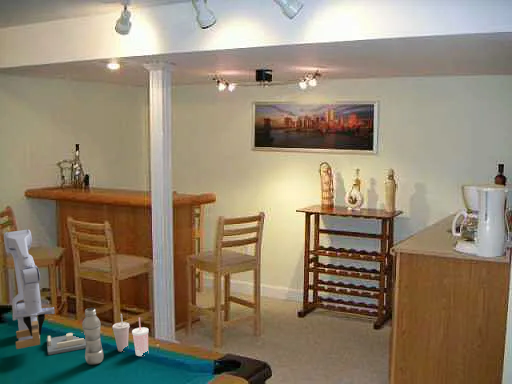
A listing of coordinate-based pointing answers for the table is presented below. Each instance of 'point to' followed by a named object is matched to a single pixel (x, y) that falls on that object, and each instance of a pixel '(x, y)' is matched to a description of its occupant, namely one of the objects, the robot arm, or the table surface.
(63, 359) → the table surface
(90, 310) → the plastic bottle
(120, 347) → the smoothie
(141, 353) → the beverage cup
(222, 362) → the table surface
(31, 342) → the wooden c-shaped bracket
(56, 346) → the stand
